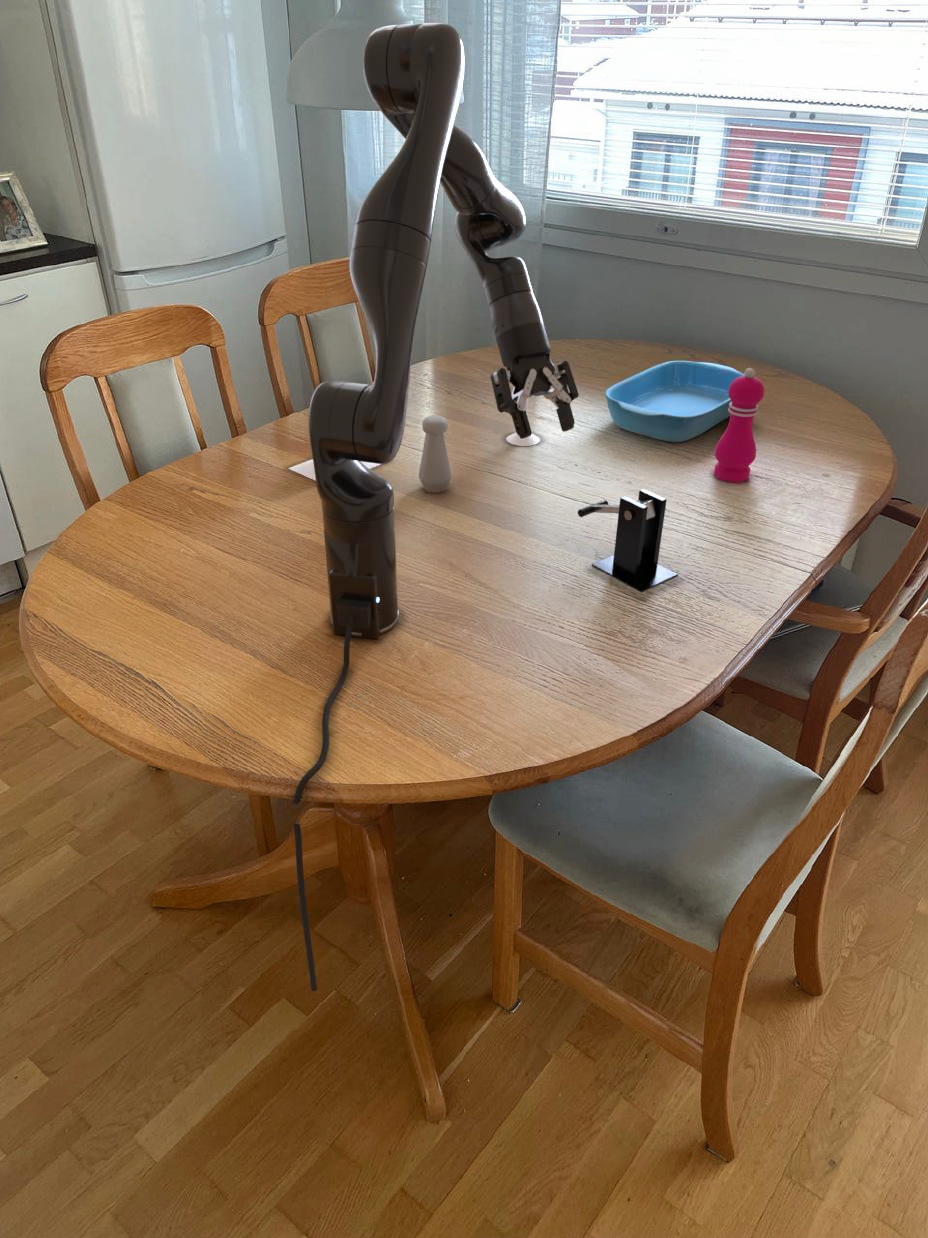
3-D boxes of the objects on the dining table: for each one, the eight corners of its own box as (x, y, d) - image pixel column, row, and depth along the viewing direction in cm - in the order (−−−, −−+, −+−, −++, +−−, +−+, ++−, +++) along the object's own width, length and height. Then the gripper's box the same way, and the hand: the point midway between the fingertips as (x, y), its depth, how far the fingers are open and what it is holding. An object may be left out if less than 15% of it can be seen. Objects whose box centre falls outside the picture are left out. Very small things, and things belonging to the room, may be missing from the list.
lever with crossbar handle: (578, 520, 139) (576, 505, 139) (604, 511, 142) (601, 495, 142) (637, 523, 130) (634, 507, 129) (663, 512, 133) (661, 496, 132)
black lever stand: (591, 571, 139) (598, 493, 132) (627, 555, 143) (636, 479, 136) (640, 598, 133) (651, 518, 126) (677, 581, 137) (689, 503, 130)
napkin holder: (327, 486, 164) (325, 456, 161) (287, 468, 170) (284, 439, 167) (388, 461, 173) (387, 432, 170) (347, 445, 180) (345, 417, 177)
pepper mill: (706, 478, 168) (724, 370, 157) (716, 464, 173) (734, 359, 163) (746, 486, 165) (767, 377, 154) (755, 472, 171) (776, 365, 160)
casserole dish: (681, 457, 176) (686, 421, 172) (584, 429, 188) (586, 395, 184) (764, 407, 200) (770, 374, 196) (672, 384, 212) (677, 353, 208)
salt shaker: (447, 496, 161) (447, 425, 154) (415, 493, 162) (414, 422, 155) (454, 482, 166) (454, 413, 158) (423, 479, 166) (422, 410, 159)
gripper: (496, 323, 132) (526, 432, 133) (569, 316, 140) (597, 420, 140) (468, 342, 138) (497, 447, 139) (539, 335, 146) (567, 434, 147)
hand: (547, 433), depth 140 cm, fingers open, 8 cm apart
